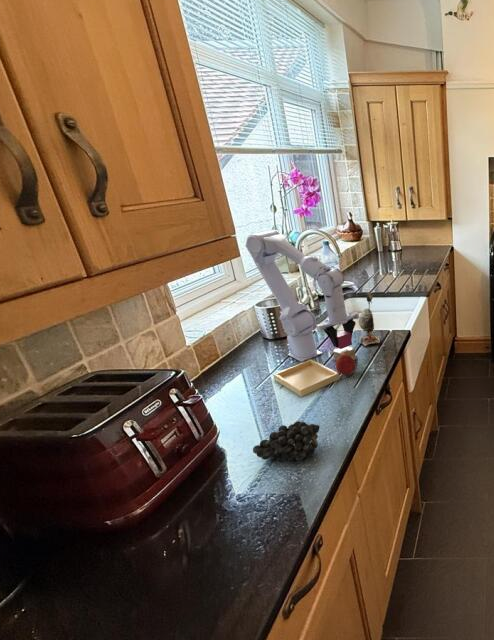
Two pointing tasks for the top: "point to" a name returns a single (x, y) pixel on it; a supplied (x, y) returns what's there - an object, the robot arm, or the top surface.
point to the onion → (345, 365)
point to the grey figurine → (368, 324)
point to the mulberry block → (343, 339)
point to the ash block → (346, 351)
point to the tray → (306, 377)
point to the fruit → (289, 442)
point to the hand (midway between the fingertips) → (342, 343)
